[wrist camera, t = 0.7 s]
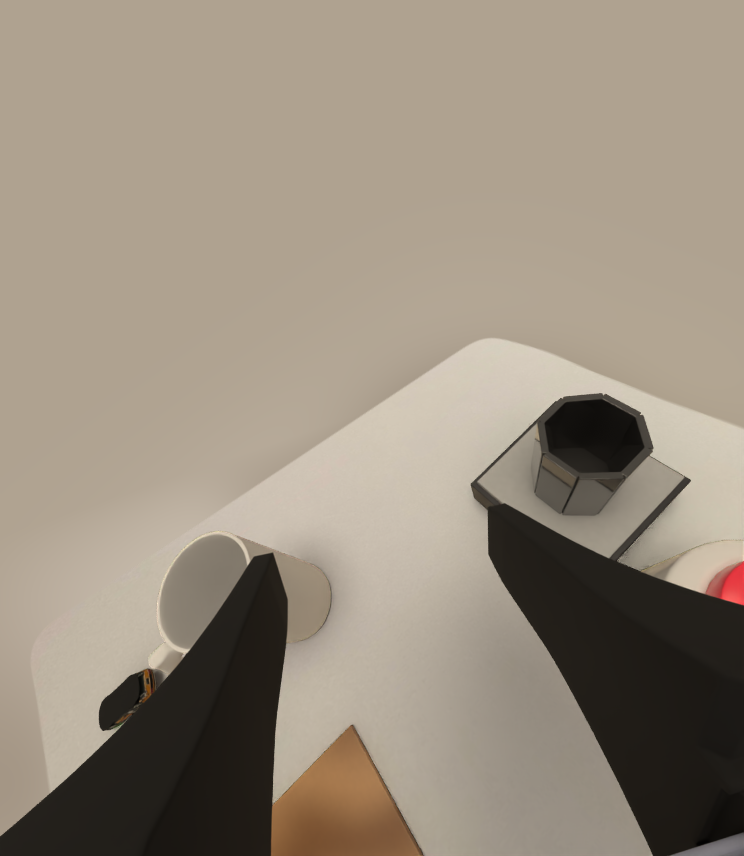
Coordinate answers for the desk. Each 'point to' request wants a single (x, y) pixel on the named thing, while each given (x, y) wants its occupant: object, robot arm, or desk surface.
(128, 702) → the toy car
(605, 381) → the desk surface
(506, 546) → the robot arm
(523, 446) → the scale
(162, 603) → the mug
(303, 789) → the coaster
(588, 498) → the cup
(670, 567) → the pill bottle
